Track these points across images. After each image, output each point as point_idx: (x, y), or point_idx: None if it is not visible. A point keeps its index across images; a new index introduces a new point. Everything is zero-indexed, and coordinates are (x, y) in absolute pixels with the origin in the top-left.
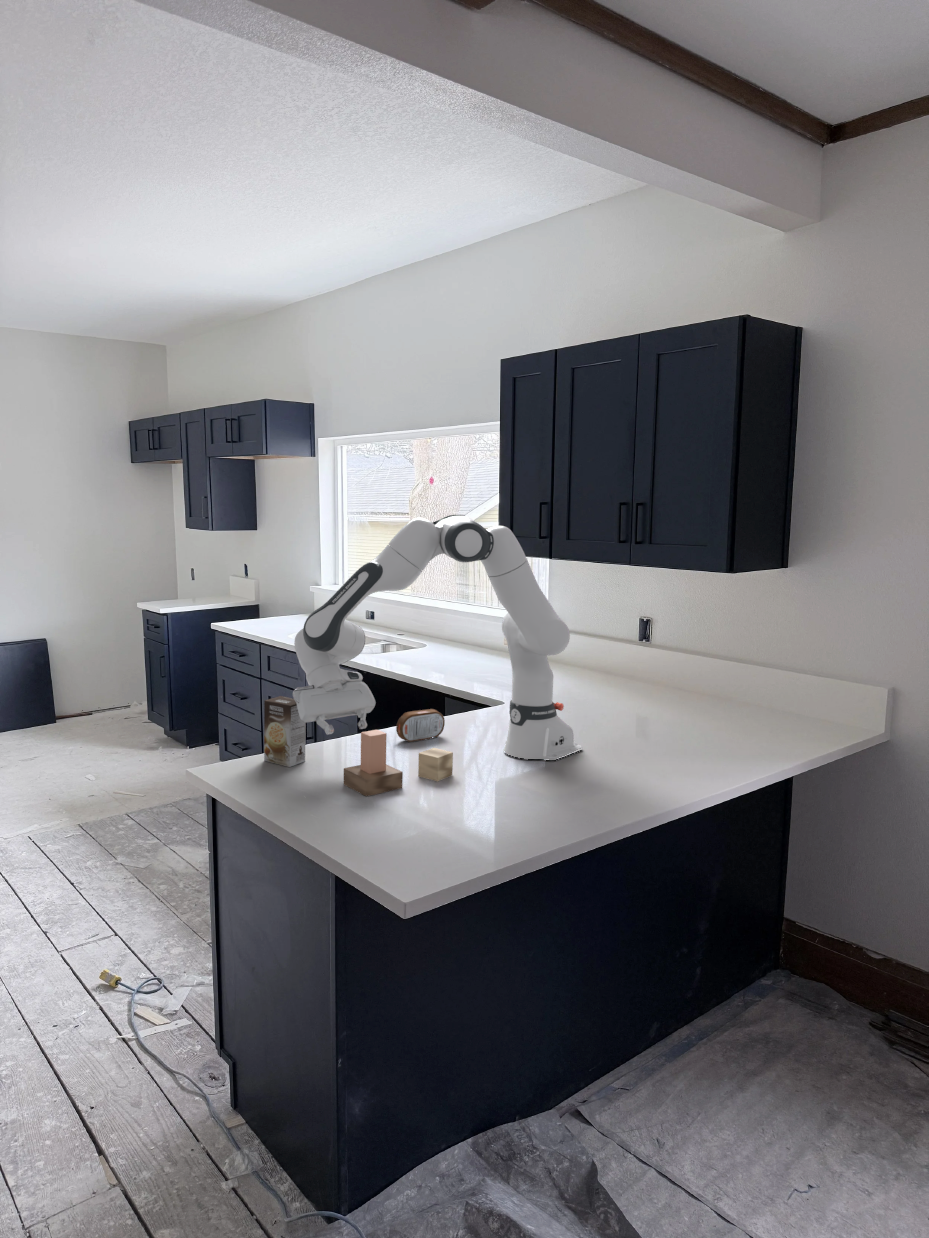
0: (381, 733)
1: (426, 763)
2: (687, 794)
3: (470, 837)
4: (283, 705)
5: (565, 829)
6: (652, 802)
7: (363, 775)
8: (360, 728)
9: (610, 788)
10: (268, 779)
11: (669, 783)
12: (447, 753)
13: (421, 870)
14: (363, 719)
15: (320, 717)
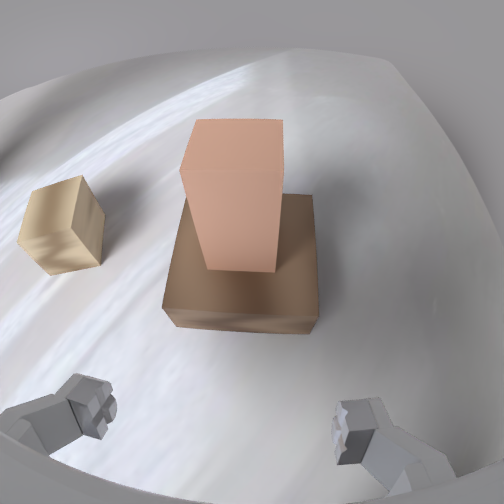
0: (214, 124)
1: (85, 219)
2: (29, 91)
3: (265, 72)
4: None
5: (169, 60)
6: (58, 83)
7: (300, 223)
8: (115, 404)
9: (33, 112)
10: None
11: (6, 110)
12: (43, 190)
13: (357, 66)
14: (64, 397)
15: (446, 469)
